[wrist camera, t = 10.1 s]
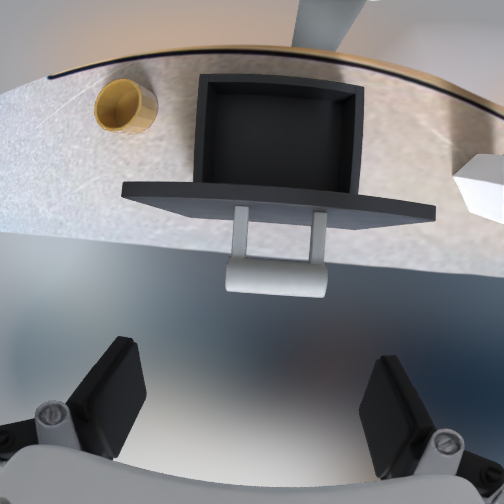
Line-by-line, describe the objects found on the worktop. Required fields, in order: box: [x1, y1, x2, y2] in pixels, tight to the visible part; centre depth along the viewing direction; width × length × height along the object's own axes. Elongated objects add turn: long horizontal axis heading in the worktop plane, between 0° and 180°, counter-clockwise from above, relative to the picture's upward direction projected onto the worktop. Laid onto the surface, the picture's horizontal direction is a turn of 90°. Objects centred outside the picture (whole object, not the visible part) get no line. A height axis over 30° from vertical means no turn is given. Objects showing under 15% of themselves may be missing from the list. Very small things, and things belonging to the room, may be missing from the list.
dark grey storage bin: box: [193, 74, 364, 195], centre depth 29 cm, size 14×16×6 cm
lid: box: [121, 182, 436, 297], centre depth 21 cm, size 15×16×5 cm
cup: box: [94, 78, 158, 134], centre depth 29 cm, size 6×6×5 cm
